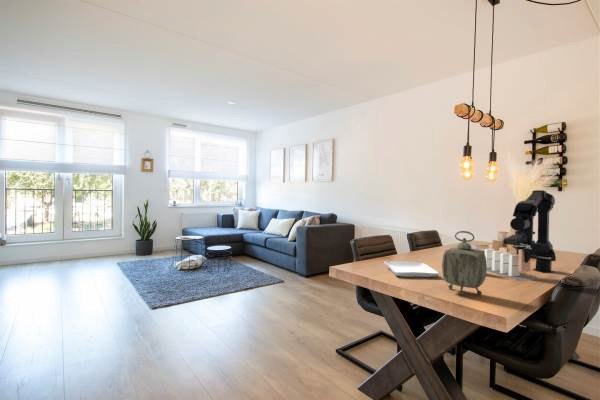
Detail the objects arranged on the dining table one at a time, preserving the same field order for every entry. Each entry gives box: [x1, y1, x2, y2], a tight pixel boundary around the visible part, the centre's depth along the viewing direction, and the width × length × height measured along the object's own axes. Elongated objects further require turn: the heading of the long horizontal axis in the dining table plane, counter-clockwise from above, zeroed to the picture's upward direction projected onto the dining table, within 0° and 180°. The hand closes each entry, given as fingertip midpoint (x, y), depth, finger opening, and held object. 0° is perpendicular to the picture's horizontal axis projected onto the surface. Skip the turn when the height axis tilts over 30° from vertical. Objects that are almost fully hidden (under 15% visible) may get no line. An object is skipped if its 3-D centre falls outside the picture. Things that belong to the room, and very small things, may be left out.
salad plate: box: [383, 261, 440, 278], centre depth 155 cm, size 21×21×3 cm
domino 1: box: [484, 248, 496, 269], centre depth 165 cm, size 5×2×10 cm, turn 102°
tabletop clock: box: [441, 230, 487, 296], centre depth 123 cm, size 14×9×25 cm, turn 48°
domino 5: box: [517, 249, 531, 272], centre depth 146 cm, size 5×2×10 cm, turn 102°
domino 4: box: [509, 254, 521, 276], centre depth 150 cm, size 5×2×10 cm, turn 103°
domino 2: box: [492, 250, 504, 271], centre depth 160 cm, size 5×2×10 cm, turn 102°
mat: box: [486, 268, 538, 281], centre depth 156 cm, size 12×26×1 cm, turn 12°
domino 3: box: [500, 252, 513, 273], centre depth 155 cm, size 5×2×10 cm, turn 102°
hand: (524, 262), depth 146 cm, fingers closed on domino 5, 2 cm apart
